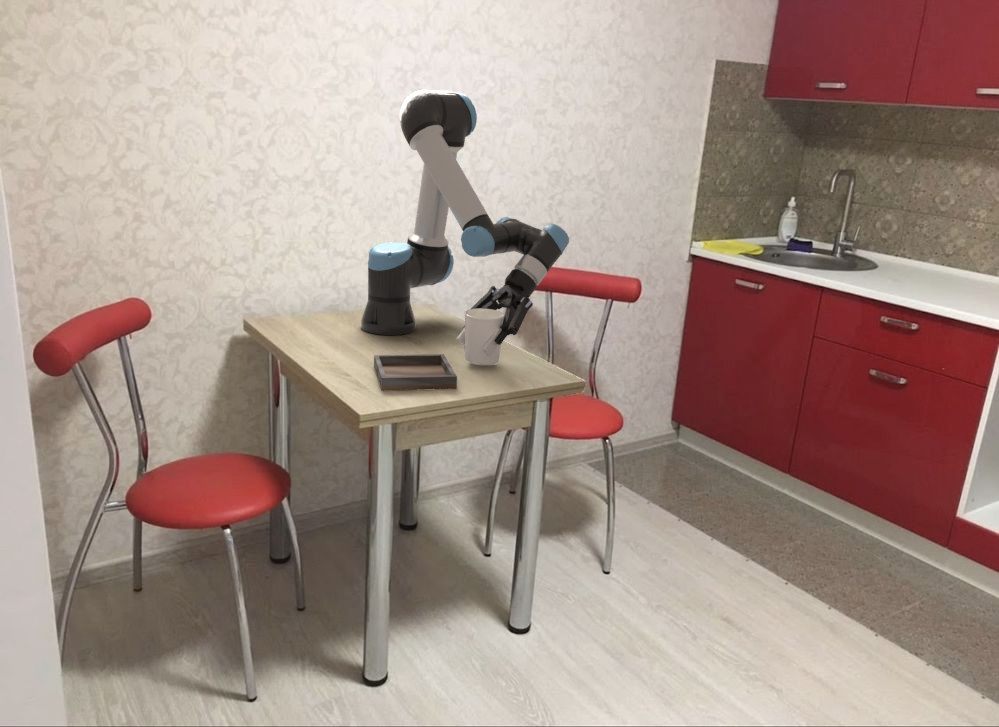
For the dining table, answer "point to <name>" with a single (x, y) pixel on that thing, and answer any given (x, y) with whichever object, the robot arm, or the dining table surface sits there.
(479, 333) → the candle holder
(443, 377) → the socket base
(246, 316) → the dining table surface
